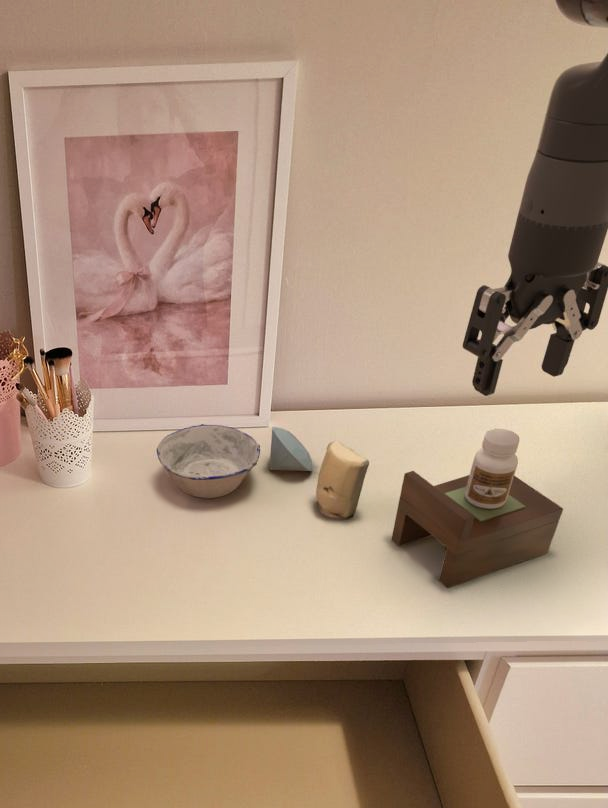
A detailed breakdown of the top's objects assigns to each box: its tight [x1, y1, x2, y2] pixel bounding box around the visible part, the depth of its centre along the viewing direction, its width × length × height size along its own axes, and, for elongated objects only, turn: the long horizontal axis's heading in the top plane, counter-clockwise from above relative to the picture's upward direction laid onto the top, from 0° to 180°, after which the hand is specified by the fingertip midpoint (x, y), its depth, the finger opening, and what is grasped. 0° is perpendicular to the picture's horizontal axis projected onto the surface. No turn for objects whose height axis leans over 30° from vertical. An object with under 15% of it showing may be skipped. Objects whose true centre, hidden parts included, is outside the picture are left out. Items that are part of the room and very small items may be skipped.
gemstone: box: [269, 426, 313, 472], centre depth 112 cm, size 8×8×5 cm
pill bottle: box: [465, 428, 520, 509], centre depth 93 cm, size 4×4×8 cm
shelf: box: [390, 470, 564, 589], centre depth 97 cm, size 14×10×9 cm
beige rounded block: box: [315, 441, 370, 520], centre depth 103 cm, size 6×5×8 cm
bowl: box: [156, 423, 261, 499], centre depth 110 cm, size 13×13×5 cm
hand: (517, 382), depth 87 cm, fingers open, 8 cm apart
